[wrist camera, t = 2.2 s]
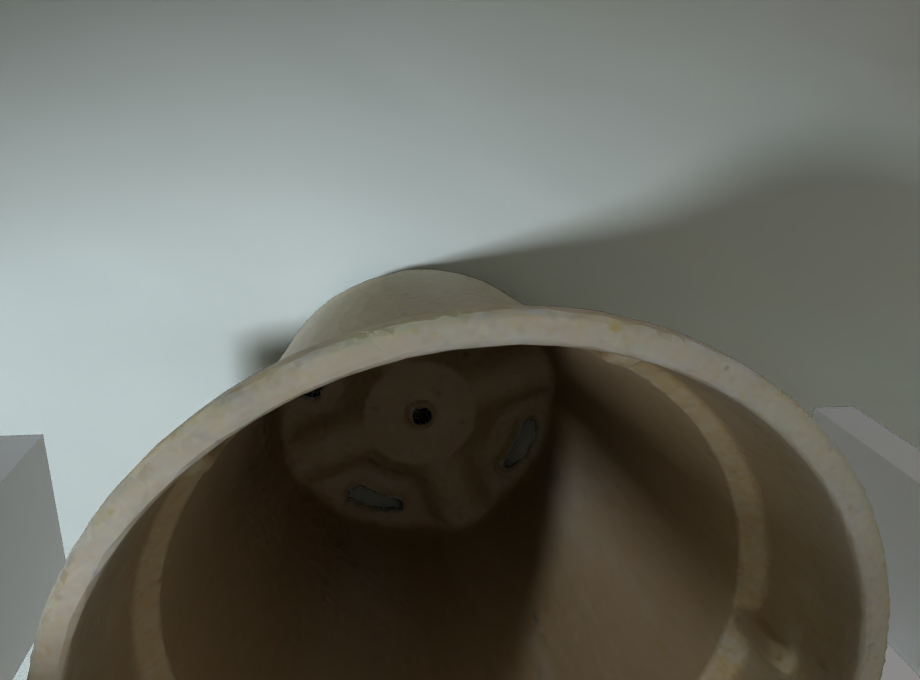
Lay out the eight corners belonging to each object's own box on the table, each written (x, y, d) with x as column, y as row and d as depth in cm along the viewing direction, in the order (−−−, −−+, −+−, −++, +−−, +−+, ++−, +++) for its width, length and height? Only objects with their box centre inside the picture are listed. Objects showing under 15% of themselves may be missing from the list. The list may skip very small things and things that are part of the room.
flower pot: (169, 181, 14) (-79, 328, 6) (647, 182, 15) (988, 302, 7) (214, 596, 17) (95, 1065, 9) (607, 566, 18) (812, 951, 10)
